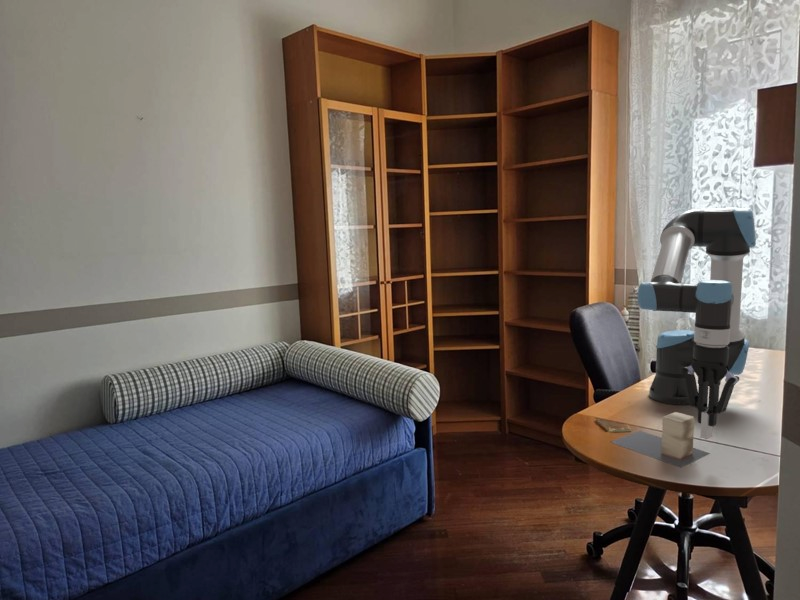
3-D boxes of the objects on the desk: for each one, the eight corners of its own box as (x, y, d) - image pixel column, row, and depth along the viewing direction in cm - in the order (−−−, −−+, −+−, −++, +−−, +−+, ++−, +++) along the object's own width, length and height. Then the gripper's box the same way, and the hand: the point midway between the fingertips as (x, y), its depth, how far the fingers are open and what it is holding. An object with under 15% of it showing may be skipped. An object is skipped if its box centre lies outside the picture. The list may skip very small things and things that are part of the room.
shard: (594, 422, 171) (594, 416, 170) (618, 421, 171) (619, 415, 171) (608, 435, 160) (608, 429, 160) (634, 434, 160) (635, 428, 160)
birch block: (673, 447, 148) (675, 411, 146) (692, 453, 144) (694, 417, 142) (661, 453, 144) (662, 416, 143) (680, 459, 140) (681, 422, 139)
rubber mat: (639, 432, 160) (639, 430, 160) (710, 455, 144) (710, 453, 144) (610, 443, 153) (610, 442, 153) (681, 469, 136) (681, 467, 136)
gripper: (676, 342, 137) (672, 432, 141) (732, 351, 127) (726, 449, 130) (692, 337, 142) (688, 426, 145) (747, 346, 131) (741, 441, 134)
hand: (706, 436), depth 137 cm, fingers closed
